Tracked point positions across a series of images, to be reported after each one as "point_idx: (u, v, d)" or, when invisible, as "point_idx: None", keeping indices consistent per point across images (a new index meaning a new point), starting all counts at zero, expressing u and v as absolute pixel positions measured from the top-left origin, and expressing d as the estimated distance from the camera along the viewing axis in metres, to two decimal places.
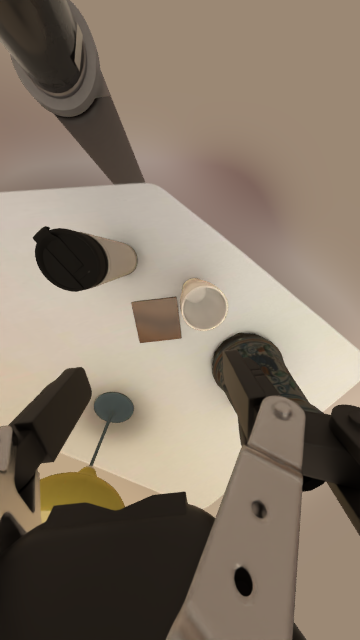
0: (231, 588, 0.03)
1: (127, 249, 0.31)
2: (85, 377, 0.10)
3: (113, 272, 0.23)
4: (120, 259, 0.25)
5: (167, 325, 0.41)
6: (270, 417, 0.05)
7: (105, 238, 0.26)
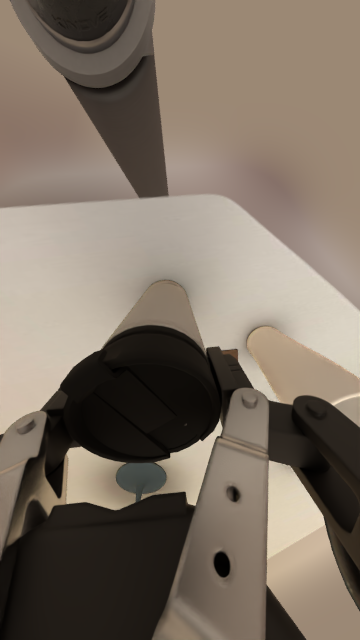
0: (211, 573, 0.03)
1: (187, 298, 0.20)
2: None
3: None
4: None
5: None
6: (239, 408, 0.06)
7: (169, 296, 0.15)
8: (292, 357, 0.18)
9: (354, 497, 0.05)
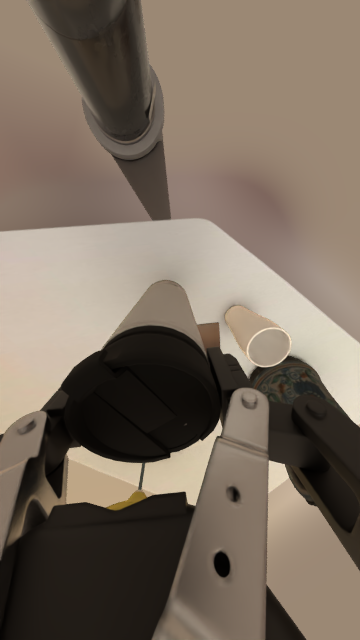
0: (211, 573, 0.03)
1: (187, 298, 0.20)
2: None
3: None
4: None
5: None
6: (239, 408, 0.06)
7: (169, 296, 0.15)
8: (245, 317, 0.30)
9: (354, 497, 0.05)
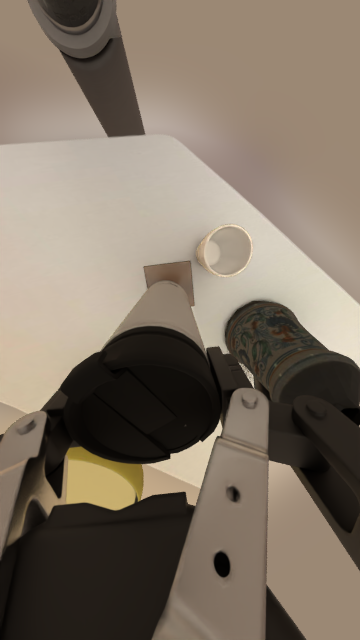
0: (211, 573, 0.03)
1: (187, 299, 0.20)
2: None
3: None
4: None
5: None
6: (239, 408, 0.06)
7: (169, 296, 0.15)
8: None
9: (354, 497, 0.05)
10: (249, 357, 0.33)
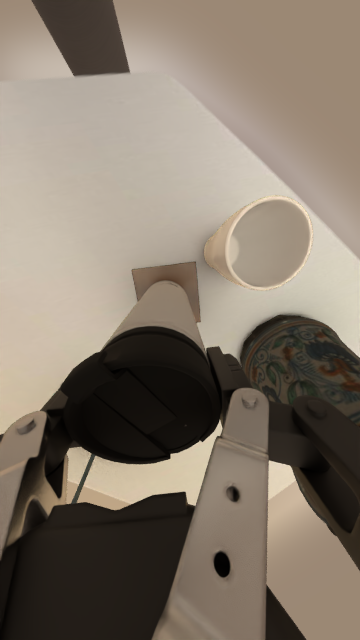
0: (211, 574, 0.03)
1: (187, 299, 0.20)
2: None
3: None
4: None
5: None
6: (239, 408, 0.06)
7: (169, 296, 0.15)
8: None
9: (354, 497, 0.05)
10: (282, 402, 0.23)
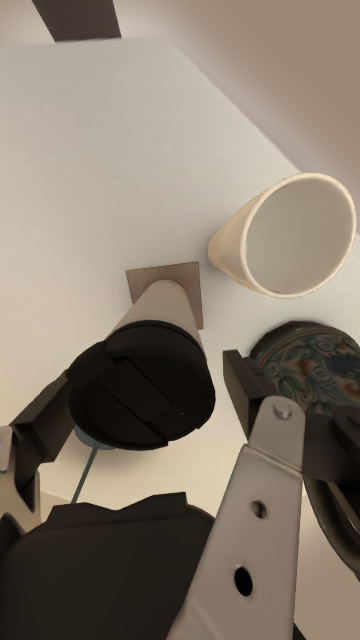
0: (231, 588, 0.03)
1: (186, 297, 0.20)
2: None
3: None
4: None
5: None
6: (270, 417, 0.05)
7: (168, 294, 0.15)
8: None
9: None
10: None
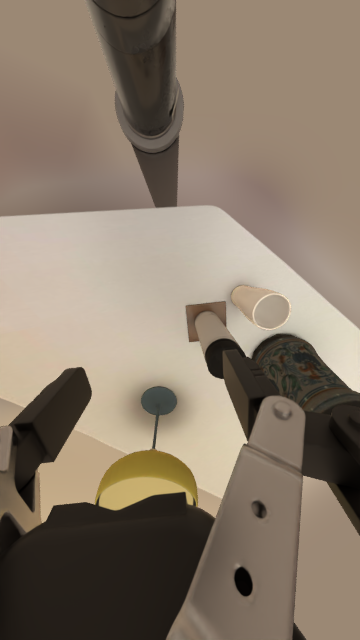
0: (231, 588, 0.03)
1: None
2: (85, 377, 0.10)
3: None
4: None
5: None
6: (270, 417, 0.05)
7: (219, 324, 0.35)
8: (251, 290, 0.35)
9: None
10: (278, 387, 0.39)
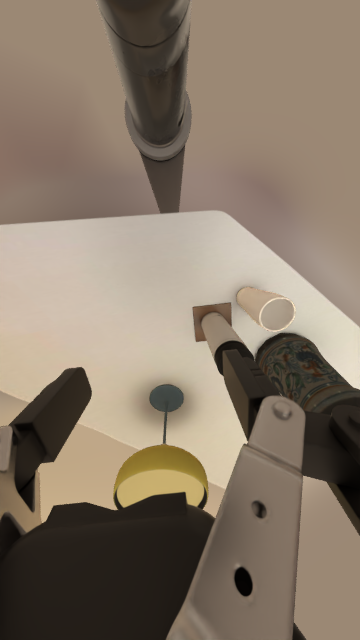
0: (231, 588, 0.03)
1: None
2: (85, 377, 0.10)
3: None
4: None
5: None
6: (270, 417, 0.05)
7: (226, 326, 0.37)
8: (256, 293, 0.36)
9: None
10: (282, 384, 0.41)
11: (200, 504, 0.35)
